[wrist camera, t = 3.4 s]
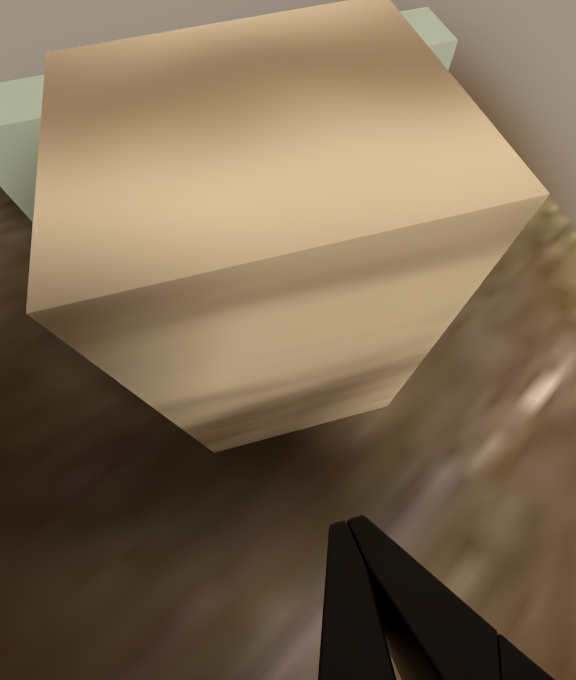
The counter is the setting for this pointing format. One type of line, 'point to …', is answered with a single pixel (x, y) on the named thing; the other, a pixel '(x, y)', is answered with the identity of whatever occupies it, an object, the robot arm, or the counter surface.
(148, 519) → the counter surface
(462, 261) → the maple block
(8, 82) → the green board
